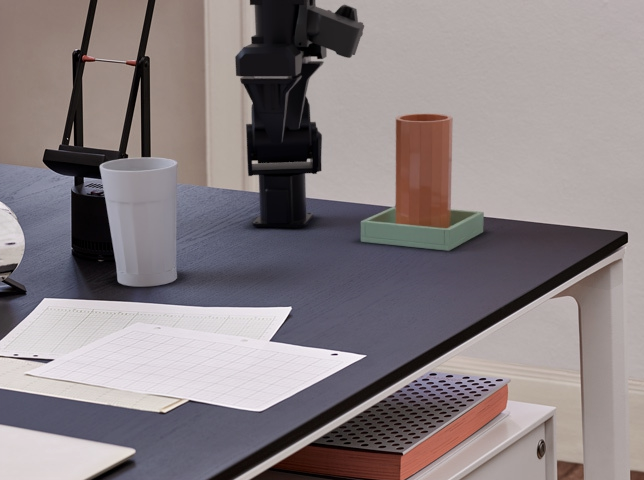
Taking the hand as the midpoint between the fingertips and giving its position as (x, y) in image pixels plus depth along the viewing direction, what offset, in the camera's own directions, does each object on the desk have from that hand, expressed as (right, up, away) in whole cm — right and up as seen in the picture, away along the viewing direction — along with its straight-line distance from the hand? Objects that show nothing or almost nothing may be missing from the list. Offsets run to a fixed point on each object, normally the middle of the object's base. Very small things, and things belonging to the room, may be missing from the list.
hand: (285, 136), depth 147 cm
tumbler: (+16, -8, +12) cm, 21 cm away
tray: (+16, -8, +12) cm, 21 cm away
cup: (-15, -16, -3) cm, 22 cm away
